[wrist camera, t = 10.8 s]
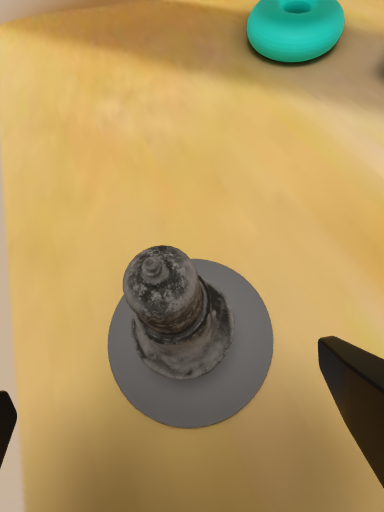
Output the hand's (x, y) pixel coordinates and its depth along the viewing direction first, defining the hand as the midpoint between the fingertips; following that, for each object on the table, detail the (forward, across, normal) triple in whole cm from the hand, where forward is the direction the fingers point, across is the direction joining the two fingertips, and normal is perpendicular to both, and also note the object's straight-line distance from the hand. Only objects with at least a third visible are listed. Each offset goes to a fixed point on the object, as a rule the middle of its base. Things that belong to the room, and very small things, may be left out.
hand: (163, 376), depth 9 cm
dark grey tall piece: (+11, 0, +6) cm, 12 cm away
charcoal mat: (+11, 0, +6) cm, 13 cm away
